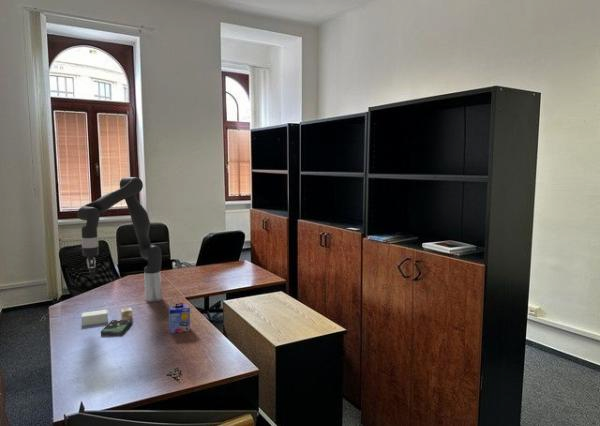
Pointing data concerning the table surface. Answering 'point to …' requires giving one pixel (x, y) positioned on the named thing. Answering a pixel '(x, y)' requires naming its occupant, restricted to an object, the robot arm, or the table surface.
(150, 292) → the robot arm
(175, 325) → the ink cartridge box
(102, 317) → the sage plank
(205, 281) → the table surface
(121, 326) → the disk drive
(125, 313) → the maple block
